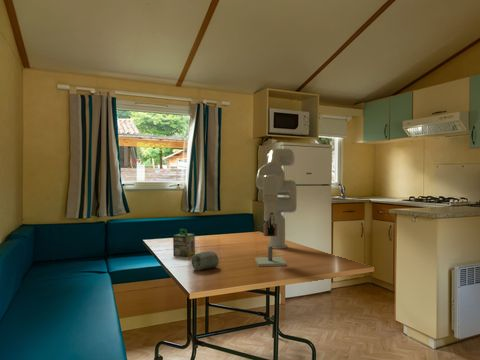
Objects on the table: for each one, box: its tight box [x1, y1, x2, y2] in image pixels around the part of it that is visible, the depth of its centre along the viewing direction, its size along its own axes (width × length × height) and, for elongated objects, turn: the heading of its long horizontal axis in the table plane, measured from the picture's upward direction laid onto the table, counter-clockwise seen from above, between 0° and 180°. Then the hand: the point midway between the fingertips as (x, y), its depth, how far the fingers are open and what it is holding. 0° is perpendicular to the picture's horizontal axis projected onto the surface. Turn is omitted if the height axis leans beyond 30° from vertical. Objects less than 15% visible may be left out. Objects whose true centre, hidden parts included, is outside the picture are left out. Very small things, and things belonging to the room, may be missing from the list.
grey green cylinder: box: [190, 250, 219, 272], centre depth 163 cm, size 14×10×10 cm
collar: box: [262, 222, 277, 237], centre depth 175 cm, size 6×6×6 cm
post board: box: [254, 245, 287, 267], centre depth 176 cm, size 14×14×8 cm
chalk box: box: [172, 228, 196, 258], centre depth 195 cm, size 9×9×15 cm
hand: (270, 233), depth 175 cm, fingers closed on collar, 6 cm apart
